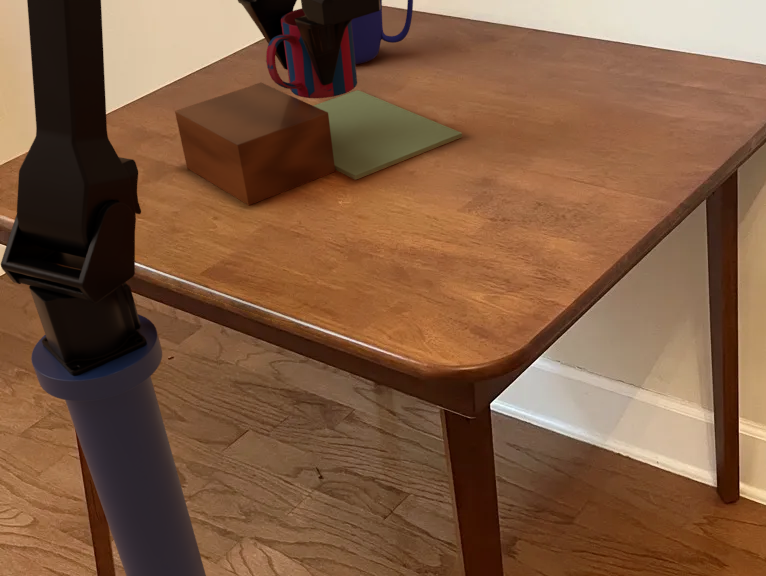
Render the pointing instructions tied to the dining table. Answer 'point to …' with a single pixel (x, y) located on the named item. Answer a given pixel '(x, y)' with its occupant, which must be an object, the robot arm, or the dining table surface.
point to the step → (256, 142)
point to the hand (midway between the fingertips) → (308, 76)
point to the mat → (378, 133)
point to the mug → (374, 34)
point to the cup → (300, 64)
